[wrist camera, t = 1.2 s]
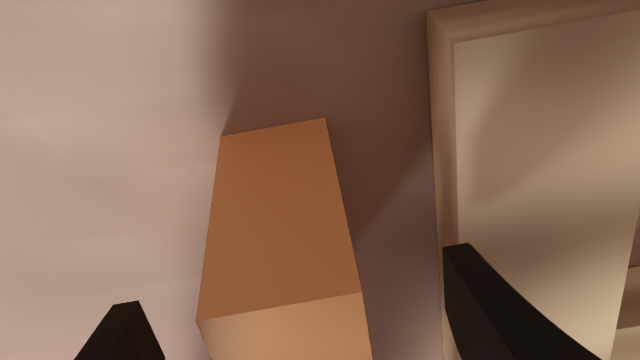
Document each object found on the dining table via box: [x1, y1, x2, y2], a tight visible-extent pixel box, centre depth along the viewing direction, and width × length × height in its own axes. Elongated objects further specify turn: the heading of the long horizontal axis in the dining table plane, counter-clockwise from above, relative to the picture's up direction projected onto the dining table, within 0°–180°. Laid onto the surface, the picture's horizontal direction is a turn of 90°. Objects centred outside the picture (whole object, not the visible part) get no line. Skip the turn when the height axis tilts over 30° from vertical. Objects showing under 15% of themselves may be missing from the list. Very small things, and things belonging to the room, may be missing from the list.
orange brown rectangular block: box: [196, 118, 373, 360], centre depth 14 cm, size 5×3×7 cm, turn 9°
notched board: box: [426, 0, 640, 360], centre depth 17 cm, size 14×11×2 cm
